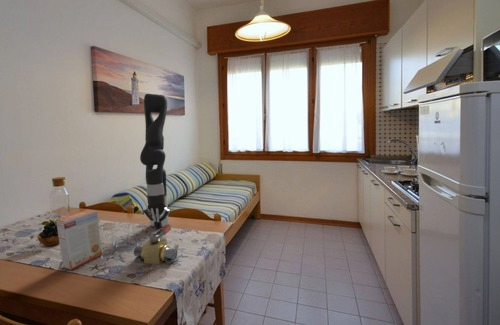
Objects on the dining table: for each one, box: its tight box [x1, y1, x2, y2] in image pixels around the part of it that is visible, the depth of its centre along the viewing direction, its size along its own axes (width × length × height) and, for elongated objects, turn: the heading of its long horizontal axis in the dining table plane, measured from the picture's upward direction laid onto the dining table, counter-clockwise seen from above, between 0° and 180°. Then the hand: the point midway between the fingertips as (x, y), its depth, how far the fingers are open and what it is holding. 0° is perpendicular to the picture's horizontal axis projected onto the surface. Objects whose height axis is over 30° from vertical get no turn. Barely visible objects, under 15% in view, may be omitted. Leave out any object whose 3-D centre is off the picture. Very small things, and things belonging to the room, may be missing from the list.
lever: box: [149, 224, 172, 243], centre depth 118 cm, size 14×4×2 cm, turn 170°
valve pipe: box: [133, 237, 178, 265], centre depth 114 cm, size 18×7×8 cm, turn 80°
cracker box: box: [56, 209, 103, 271], centre depth 113 cm, size 14×6×21 cm, turn 153°
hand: (158, 229), depth 123 cm, fingers closed
